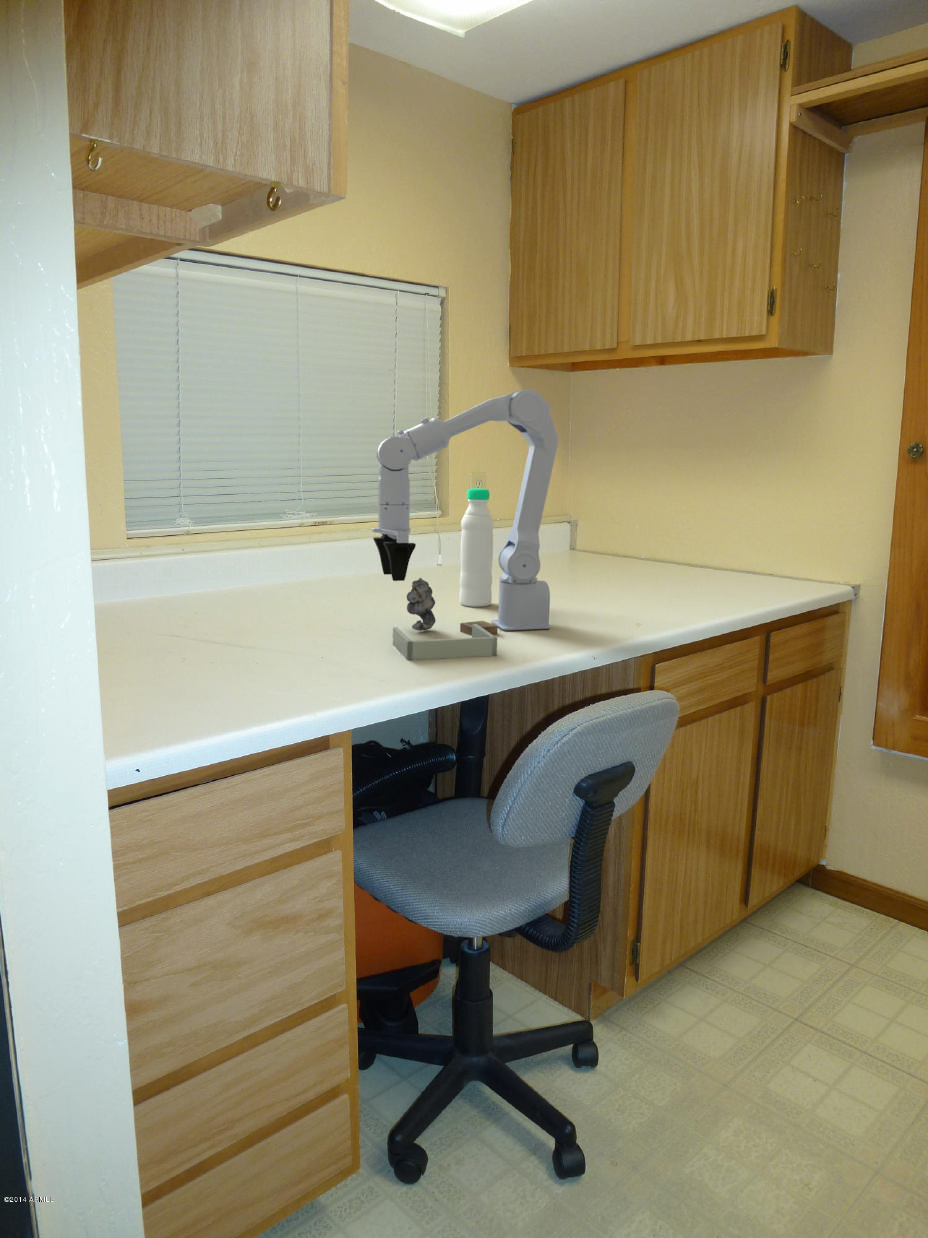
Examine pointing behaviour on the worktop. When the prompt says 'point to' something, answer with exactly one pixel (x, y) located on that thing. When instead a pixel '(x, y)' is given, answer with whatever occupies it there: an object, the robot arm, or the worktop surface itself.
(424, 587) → the seashell
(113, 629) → the worktop surface
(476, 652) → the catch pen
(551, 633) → the worktop surface
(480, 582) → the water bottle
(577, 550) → the worktop surface
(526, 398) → the robot arm
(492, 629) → the walnut tile
